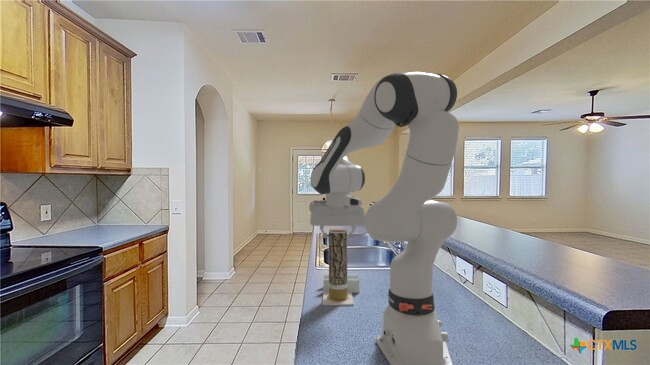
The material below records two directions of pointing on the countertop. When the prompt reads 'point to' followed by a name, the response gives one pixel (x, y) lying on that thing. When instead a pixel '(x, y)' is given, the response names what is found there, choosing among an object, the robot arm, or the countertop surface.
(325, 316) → the countertop surface
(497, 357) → the countertop surface
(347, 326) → the countertop surface
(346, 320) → the countertop surface
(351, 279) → the low walls
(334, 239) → the wooden log
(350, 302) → the resting pad
